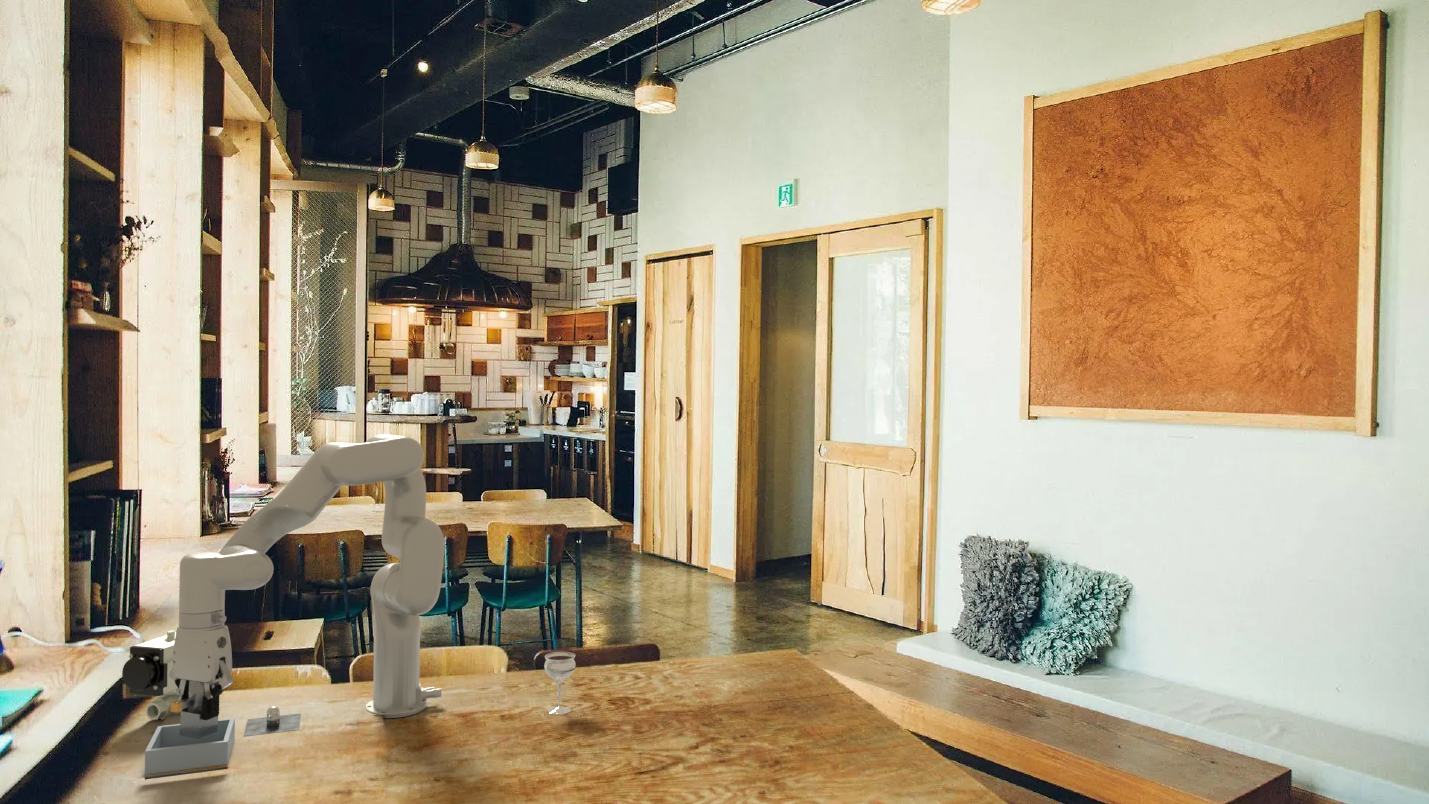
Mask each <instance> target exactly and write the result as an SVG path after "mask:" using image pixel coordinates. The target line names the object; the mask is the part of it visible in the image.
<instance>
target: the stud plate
mask: <svg viewBox="0 0 1429 804" xmlns="http://www.w3.org/2000/svg"><path fill="white" fill-rule="evenodd" d="M301 715H302V713H293V714H285V715H284V714H283V715H281V710H280V707H278V706H276V705H272V706H270V707H268V709H267V710H266V717H265V716H264V717H256V718H247V721H246V725H245V729H244V733H243V737H249V736H250V737H253V736H260V735H269V734H270V735H271V734H277V733H286V732H287V733H288V732H295V731H299V730H300V726H301V717H302V716H301Z"/></svg>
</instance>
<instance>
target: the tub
mask: <svg viewBox="0 0 1429 804" xmlns="http://www.w3.org/2000/svg"><path fill="white" fill-rule="evenodd" d="M235 720H236V718H235V717H232V718H231V717H229V718H222V719H218V729H217V732H216V733H213V734H210V735H208V736H205V737H202V738H200V739H195V738H190V737H185V736H179V734H180V723H177V724H176V723H174V724H167V725H157V727H156V729H155V732H154V733H153V735H152V737H151V738H150V741H149V743H148V745H147V747H146V749H145V750H144V775H150V774H158V773H164V772H165V773H166V772H173V771H181V770H190V769H195V768H198V769H199V768H204V767H205V768H206V767H213V766H221V765H228V763H229V760H230V756H231V753H232V749H233V746H234V742H235V737H236V736H235V735H236V733H235V731H236V729H235V728H236V721H235ZM228 769H229V767H228V766H224V767H216V768H210V769H202V770H192V771H185V772H177V773H170V774H161V775H160V774H159V775H153V776H145V777H144V780H152V779H160V778H166V777H168V778H169V777H175V776H184V775H189V774H190V775H191V774H199V773H206V772H207V773H208V772H215V771H224V770H228Z"/></svg>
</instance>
